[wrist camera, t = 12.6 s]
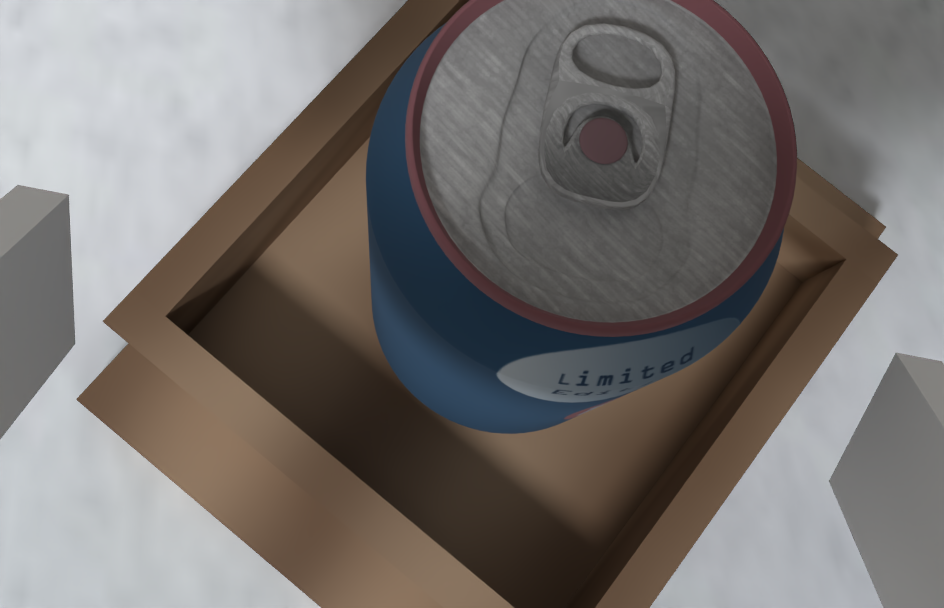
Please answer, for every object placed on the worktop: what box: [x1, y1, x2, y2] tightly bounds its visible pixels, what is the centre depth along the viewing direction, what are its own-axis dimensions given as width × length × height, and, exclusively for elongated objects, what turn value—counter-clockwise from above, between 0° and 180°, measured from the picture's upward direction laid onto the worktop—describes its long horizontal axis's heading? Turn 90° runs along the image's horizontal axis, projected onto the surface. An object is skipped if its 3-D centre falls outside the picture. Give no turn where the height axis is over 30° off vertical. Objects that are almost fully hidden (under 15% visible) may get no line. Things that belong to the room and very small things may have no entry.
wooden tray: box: [76, 0, 898, 608], centre depth 24 cm, size 14×18×4 cm
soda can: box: [366, 0, 797, 434], centre depth 19 cm, size 7×7×12 cm
